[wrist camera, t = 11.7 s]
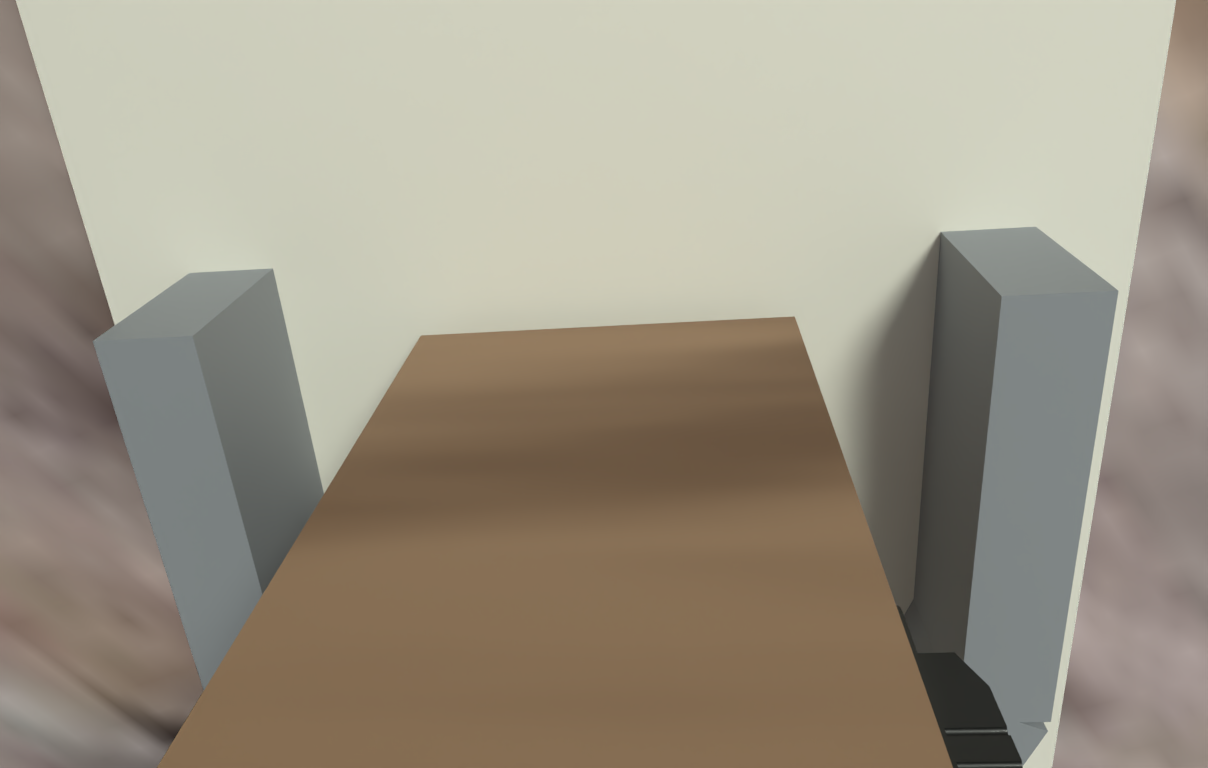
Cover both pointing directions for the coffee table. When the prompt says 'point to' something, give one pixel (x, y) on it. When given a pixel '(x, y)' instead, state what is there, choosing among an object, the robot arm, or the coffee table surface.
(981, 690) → the robot arm
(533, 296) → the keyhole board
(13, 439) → the coffee table surface
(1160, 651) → the coffee table surface
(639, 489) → the brown block
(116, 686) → the coffee table surface
